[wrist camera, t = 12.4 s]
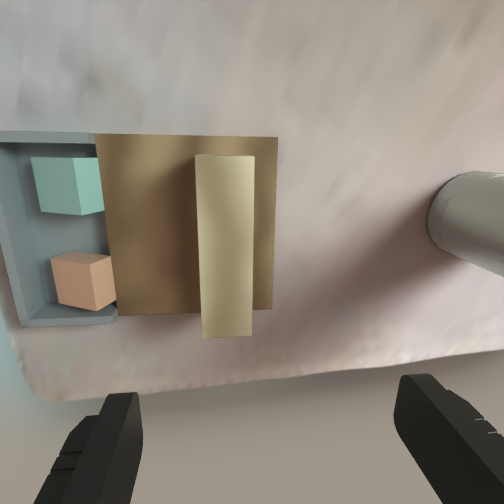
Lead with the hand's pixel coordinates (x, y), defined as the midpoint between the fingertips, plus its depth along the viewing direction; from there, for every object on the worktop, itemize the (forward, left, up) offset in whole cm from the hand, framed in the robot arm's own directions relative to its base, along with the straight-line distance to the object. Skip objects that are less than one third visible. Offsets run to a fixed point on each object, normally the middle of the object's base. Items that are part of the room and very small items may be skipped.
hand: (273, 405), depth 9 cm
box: (+16, 0, -24) cm, 29 cm away
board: (+4, 0, -24) cm, 24 cm away
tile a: (+14, -4, -22) cm, 27 cm away
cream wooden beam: (+1, 0, -22) cm, 22 cm away
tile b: (+14, +5, -22) cm, 27 cm away
